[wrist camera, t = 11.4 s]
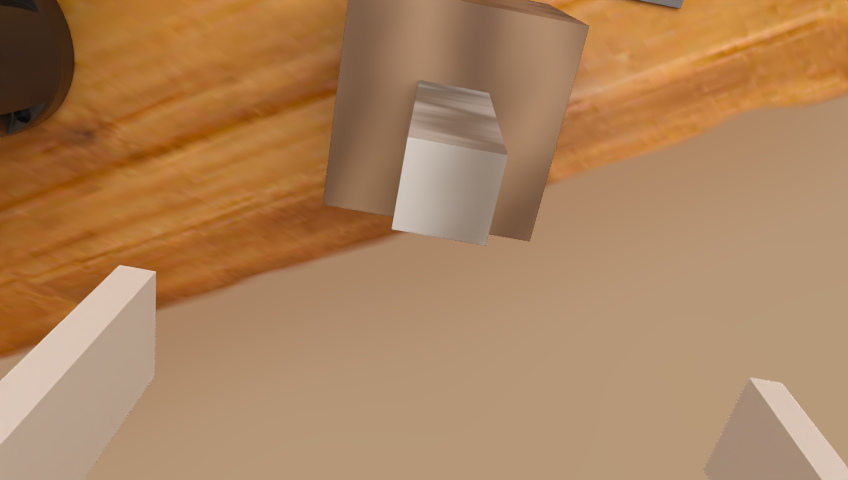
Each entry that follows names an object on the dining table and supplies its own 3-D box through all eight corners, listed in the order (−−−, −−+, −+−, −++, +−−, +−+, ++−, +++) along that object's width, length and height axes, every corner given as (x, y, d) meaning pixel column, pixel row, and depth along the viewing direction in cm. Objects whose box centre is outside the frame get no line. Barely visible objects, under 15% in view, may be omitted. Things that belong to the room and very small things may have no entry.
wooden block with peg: (354, 138, 53) (275, 302, 28) (378, -30, 47) (305, -7, 23) (508, 166, 53) (561, 352, 29) (548, 4, 48) (656, 61, 23)
